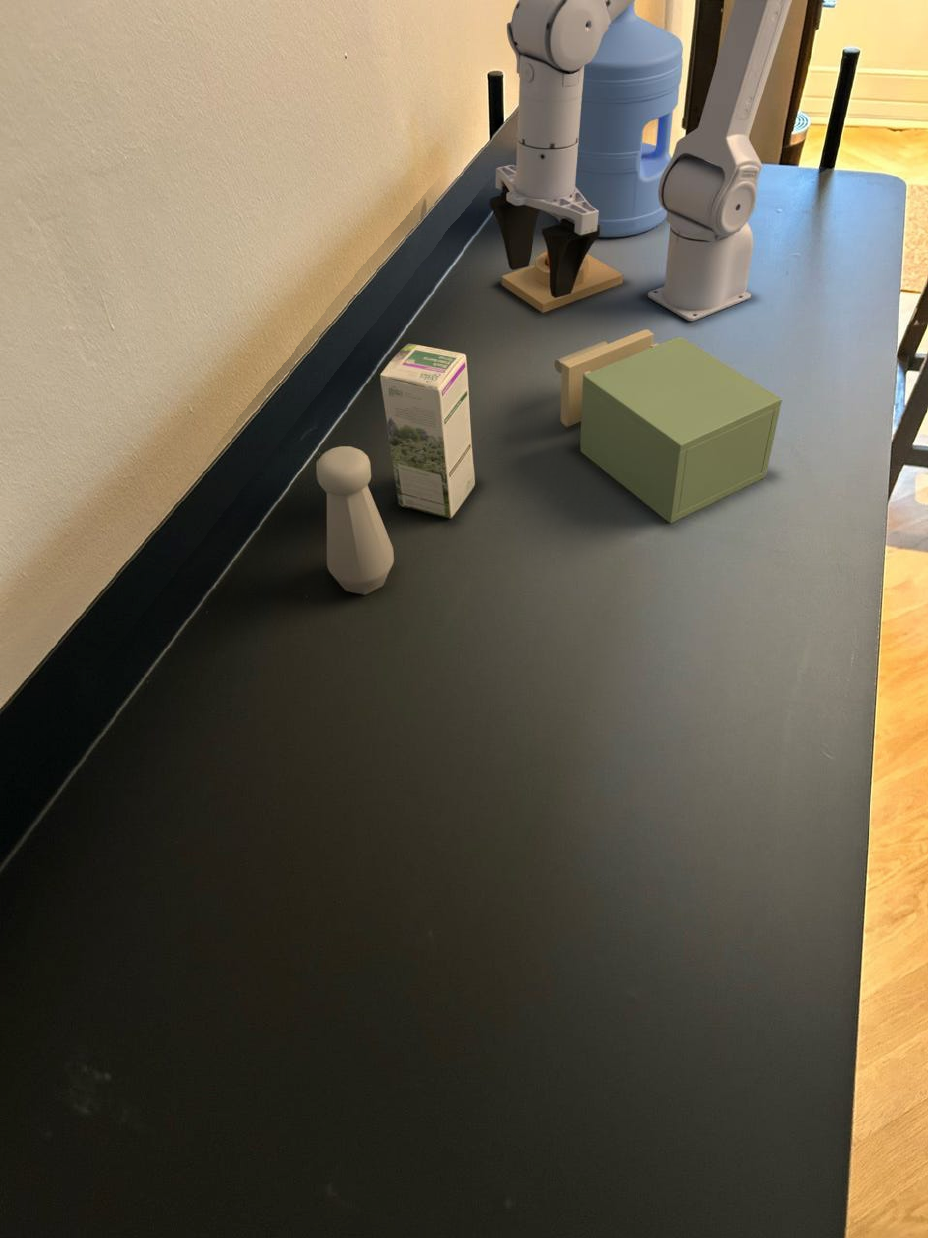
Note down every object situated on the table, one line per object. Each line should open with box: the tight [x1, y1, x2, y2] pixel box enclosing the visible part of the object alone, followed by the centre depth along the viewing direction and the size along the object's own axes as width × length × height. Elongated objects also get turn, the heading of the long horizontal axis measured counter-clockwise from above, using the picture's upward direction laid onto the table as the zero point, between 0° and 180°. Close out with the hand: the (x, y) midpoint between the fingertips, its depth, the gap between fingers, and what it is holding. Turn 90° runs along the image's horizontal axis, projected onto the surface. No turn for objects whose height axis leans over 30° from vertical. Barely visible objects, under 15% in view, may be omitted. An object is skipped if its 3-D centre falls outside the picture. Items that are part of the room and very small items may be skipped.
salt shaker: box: [316, 445, 395, 596], centre depth 78 cm, size 6×6×13 cm
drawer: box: [554, 328, 660, 428], centre depth 93 cm, size 17×10×7 cm, turn 32°
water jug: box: [555, 0, 684, 238], centre depth 121 cm, size 16×16×28 cm
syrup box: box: [379, 342, 476, 519], centre depth 85 cm, size 6×6×14 cm
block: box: [500, 251, 624, 314], centre depth 117 cm, size 12×9×3 cm
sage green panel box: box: [580, 335, 783, 524], centre depth 89 cm, size 14×12×9 cm
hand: (539, 280), depth 98 cm, fingers open, 7 cm apart
